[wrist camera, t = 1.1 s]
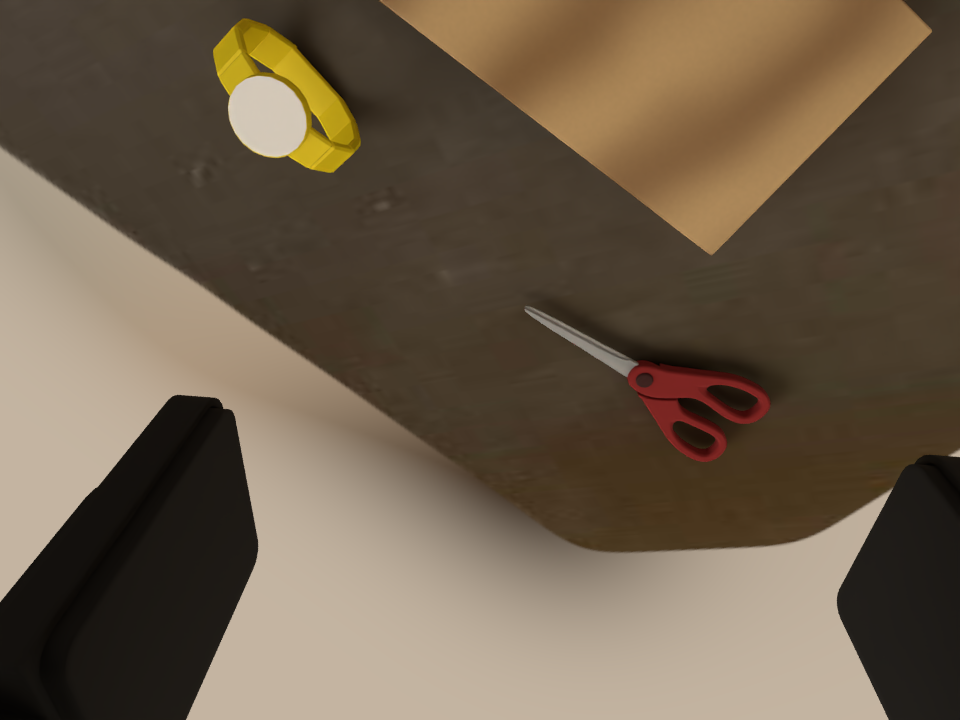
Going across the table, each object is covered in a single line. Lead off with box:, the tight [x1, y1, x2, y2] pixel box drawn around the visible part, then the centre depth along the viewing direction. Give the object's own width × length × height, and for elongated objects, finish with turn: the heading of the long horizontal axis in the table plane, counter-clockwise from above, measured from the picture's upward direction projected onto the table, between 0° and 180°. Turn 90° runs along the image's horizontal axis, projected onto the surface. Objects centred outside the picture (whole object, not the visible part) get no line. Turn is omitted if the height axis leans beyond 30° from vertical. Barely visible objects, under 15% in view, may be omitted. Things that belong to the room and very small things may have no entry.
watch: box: [213, 19, 361, 173], centre depth 25 cm, size 6×3×6 cm, turn 40°
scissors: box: [525, 305, 771, 462], centre depth 33 cm, size 5×14×1 cm, turn 59°
